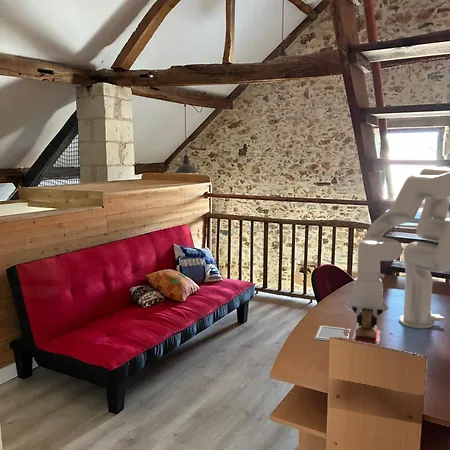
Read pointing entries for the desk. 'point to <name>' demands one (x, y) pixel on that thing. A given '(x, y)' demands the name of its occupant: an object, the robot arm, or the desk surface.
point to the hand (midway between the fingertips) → (366, 325)
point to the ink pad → (368, 340)
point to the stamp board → (330, 333)
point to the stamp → (366, 325)
